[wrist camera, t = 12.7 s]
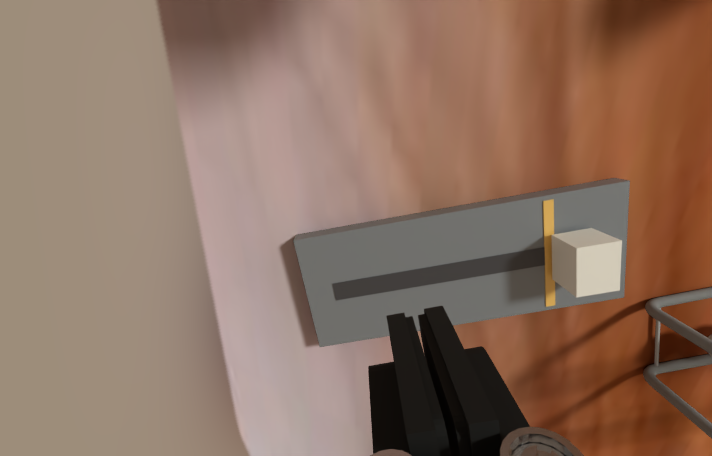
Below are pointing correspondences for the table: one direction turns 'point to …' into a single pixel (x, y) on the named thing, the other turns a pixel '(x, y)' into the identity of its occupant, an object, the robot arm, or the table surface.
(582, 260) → the fader tab
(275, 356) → the table surface
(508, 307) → the board
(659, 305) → the newton's cradle
